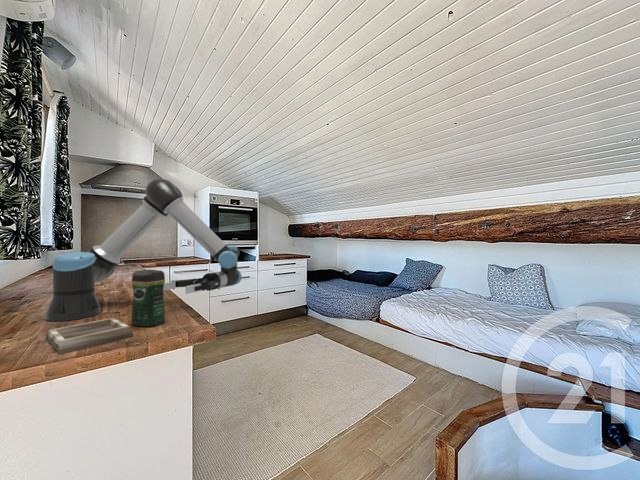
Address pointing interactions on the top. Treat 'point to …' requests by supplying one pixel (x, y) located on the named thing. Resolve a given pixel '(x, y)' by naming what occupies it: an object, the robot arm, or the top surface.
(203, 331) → the top surface
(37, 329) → the top surface
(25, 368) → the top surface
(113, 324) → the board
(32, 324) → the top surface
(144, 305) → the coffee jar
